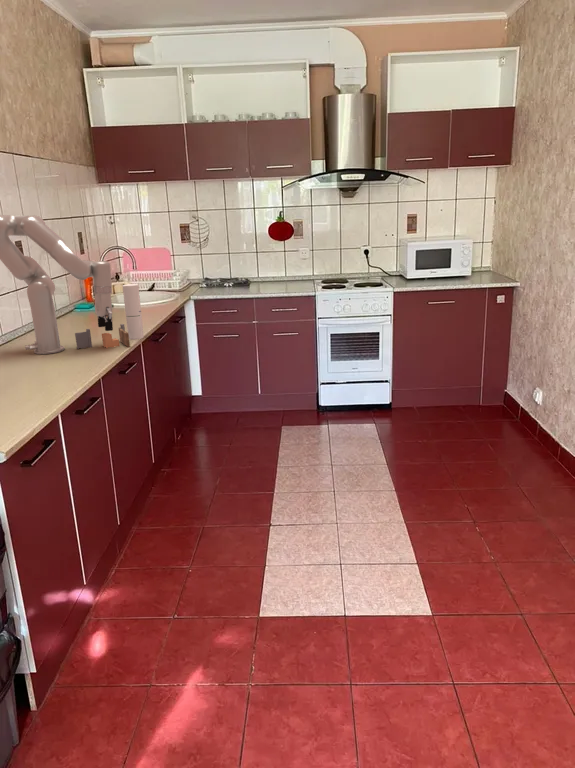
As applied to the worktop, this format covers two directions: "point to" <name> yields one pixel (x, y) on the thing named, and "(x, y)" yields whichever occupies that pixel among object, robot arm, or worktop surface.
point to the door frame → (86, 338)
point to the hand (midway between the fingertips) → (105, 328)
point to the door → (124, 337)
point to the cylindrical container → (133, 311)
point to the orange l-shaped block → (109, 340)
